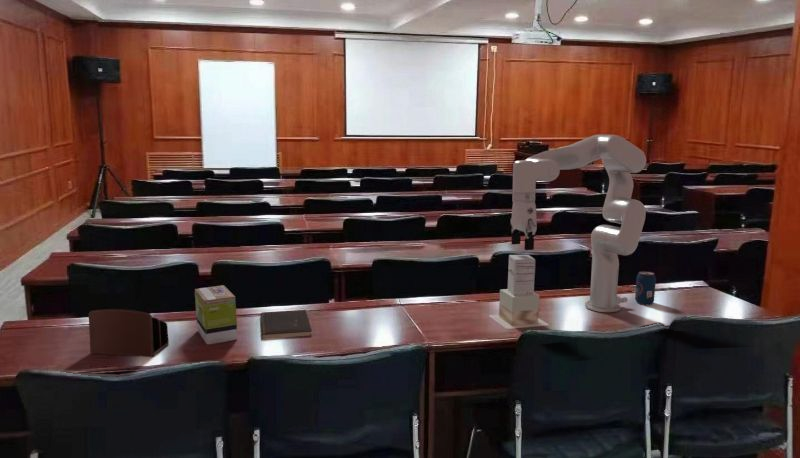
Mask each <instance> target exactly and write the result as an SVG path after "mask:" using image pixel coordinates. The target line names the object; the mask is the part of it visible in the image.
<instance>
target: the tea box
mask: <svg viewBox="0 0 800 458" xmlns="http://www.w3.org/2000/svg"><path fill="white" fill-rule="evenodd" d="M194 298H195V300H194V301H195V313H196V314H195V315H196V316H195V317H196V330H197V331H198V334H199V336H201V338H202V340H204V343H205V344H206V345H213V344H219V343H220V344H221V343H225V342H231V341H236V340H238V327H237V326H238V323H237V322H238V321H237V320H238V319H237V306H236V303H237V302H236V296H235V295H234V293H232V292H231V291H230V290H229V289H228V288H227V287H226V286H225V285H224V284H223V285H216V286H208V287H200V288H194Z"/></svg>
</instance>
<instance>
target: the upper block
mask: <svg viewBox="0 0 800 458" xmlns="http://www.w3.org/2000/svg"><path fill="white" fill-rule="evenodd" d="M499 304H501V305H503V306H504V307H506V308H507V309H509V310H510V311H512V312H513V311H526V310H538V309H539V310H540V295H539V294H538V293H536V292H535V291H534V295H513V294H512V293H511V292H510V291H509V290H508V288H503V289H499Z"/></svg>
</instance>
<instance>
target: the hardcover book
mask: <svg viewBox="0 0 800 458" xmlns="http://www.w3.org/2000/svg"><path fill="white" fill-rule="evenodd" d="M259 315H260V332H261V333H260V334H261V335H260V336H261V340H265V339H277V338H281V339H282V338H294V337H305V336H306V337H308V336H312V331H313V329H312V327H311V323H310V320H309V316H308V313H307V310H306V309H293V310H277V311H262V312H260V314H259Z"/></svg>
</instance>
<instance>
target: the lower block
mask: <svg viewBox="0 0 800 458" xmlns="http://www.w3.org/2000/svg"><path fill="white" fill-rule="evenodd" d="M539 311H540V308H539V309H538V310H526V311H513V312H512V311H510V310H509V309H507V308H506V307H504V306H503V305H501V304H500V303H499V309H498V315H499V317H500V318H501V319H503V320H504V321H505V322H507V323H508V324H510V325H511V326H515V325H526V324H537V323H538V318H539V317H540V316H539V315H540V313H539Z"/></svg>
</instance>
